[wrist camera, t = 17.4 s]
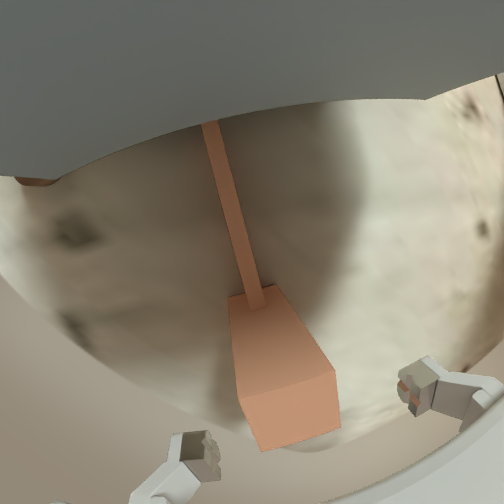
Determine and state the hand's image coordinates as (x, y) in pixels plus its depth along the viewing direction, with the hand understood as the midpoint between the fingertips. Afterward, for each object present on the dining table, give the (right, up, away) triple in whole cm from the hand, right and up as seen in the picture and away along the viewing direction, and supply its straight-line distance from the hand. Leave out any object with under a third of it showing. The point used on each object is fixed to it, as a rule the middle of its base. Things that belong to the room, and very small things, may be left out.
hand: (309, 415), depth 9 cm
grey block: (-4, +19, +4) cm, 19 cm away
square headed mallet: (-3, +7, +6) cm, 10 cm away
